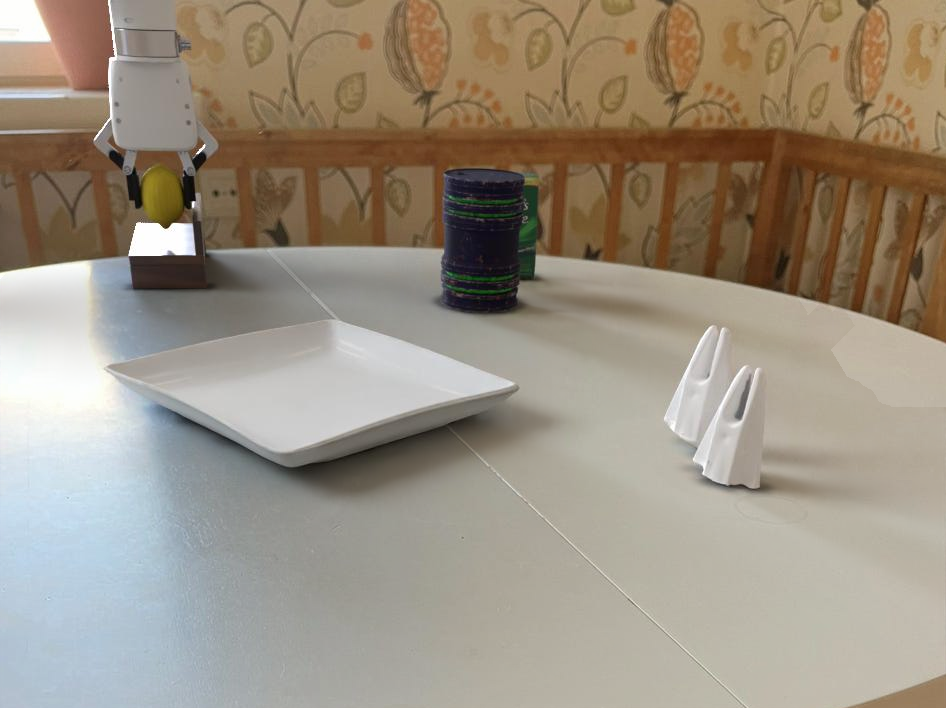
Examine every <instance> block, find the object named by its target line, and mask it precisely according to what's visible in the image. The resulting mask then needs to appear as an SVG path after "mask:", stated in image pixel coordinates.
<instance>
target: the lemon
mask: <svg viewBox="0 0 946 708" xmlns="http://www.w3.org/2000/svg"><path fill="white" fill-rule="evenodd" d="M140 199H141V204H142V207H141V208H142V209H143V212H144V213H145V215H146V217H148V219H150V220H151V221H152V222H153V223H158V224H159V225H160V226H161V227H162V228H163V229H169V228H170V226H171V225H172V224H173V223H177V222H178V221H179V220H180V219H181V218H182V216H183V214H184V212H185V209H186V208H185V200H184V190H183V182H182V180H181V179H180V177H179V176H178V174H177V173H176V172H175V171H174V170H172V169H171V168H169V167H167V166H165V165H164V164H163V163H162V162H157V163H155V165H153V166H152V167H150V168H148V169H147V170H146V171H145V172H144V173H143V175H142V177H141V180H140Z"/></svg>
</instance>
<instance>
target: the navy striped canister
mask: <svg viewBox="0 0 946 708" xmlns="http://www.w3.org/2000/svg"><path fill="white" fill-rule="evenodd" d="M523 174H524V173H520V172H517V171H511V170H506V169H497V168H485V167H484V168H483V167H480V168H479V167H465V168H463V167H462V168H453V169H448V170H446V171H444V172H443V181H444V185H443V195H442V199H441V200H442V201H441V202H442V207H443V208H442V214H441V217H442V223H443V225H444V236H443V238H444V239H443V240H444V241H443V246H444V247H443V254H442V256H441V259H440V264H441V270H440V282H441V286H440V287H441V291H442V294H441V297H440V303H441V304H442V305H443V306H445V307H447V308H449V309H451V310H454V311H455V310H456V311H460V312H466V313H473V314H474V313H476V314H477V313H478V314H494V313H503V312H509V311H512V310H514V309H515V308H516V307H518V298H517V295H518V293H519V292H518V291H519V287H518V286H519V285H520V280H521V279H520V274H519V271H520V268H521V265H520V259H519V258H518V251H519V234H520V227H521V226H522V221H523V212H522V211H523V210H524V199H523V197H524V189H523V185H524V182H525V176H524V175H523Z"/></svg>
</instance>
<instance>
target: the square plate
mask: <svg viewBox="0 0 946 708" xmlns="http://www.w3.org/2000/svg"><path fill="white" fill-rule="evenodd" d="M102 368H103V370H104V371H105V372H106V373H108V374H110V375H111V376H112V377H113V378H114V379H116V381H118V382H119V383H120V384H121V385H123V386H124V387H126V388H127V389H129V390H130V391H132V392H134V393H135V394H137V395H138V396H141V397H143V398H145V399H147V400H149V401H151V402H153V403H155V404H156V405H159V406H162V407H164V408H166V409H168V410H170V411H173V412H175V413H176V414H178V415H180V416H182V417H184V418H185V419H188V420H190V421H192V422H194V423H196V424H199V425H200V426H202V427H204V428H206V429H209V430H210V431H212V432H214V433H217V434H218V435H220V436H223V437H225V438H227V439H229V440H231V441H233V442H235V443H237V444H239V445H241V446H243V447H244V448H246V449H248V450H249V451H251V452H253V453H255V454H256V455H259V456H261V457H263V458H264V459H267V460H269V461H271V462H274V463H276V464H277V465H280V466H282V467H283V466H284V467H287V468H297V467H302V466H305V465H309V464H317V463H319V464H320V463H325V462H330V461H333V460H337V459H340V458H344V457H346V456H351V455H353V454H357V453H360V452H363V451H366V450H369V449H372V448H376V447H378V446H382V445H385V444H389V443H391V442H394V441H398V440H401V439H404V438H407V437H412V436H414V435H418V434H421V433H425V432H428V431H432V430H435V429H438V428H441V427H444V426H446V425H448V424H450V423H452V422H456V421H459V420H463V419H465V418H468V417H471V416H475V415H477V414H481V413H483V412H485V411H488V410H491V409H493V408H495V407H497V406H499V405H500V404H502V403H504V402H506V400H508V399H509V398H510V397H512V396H513V395H514V394H515V393H517V392H518V391H519V390H520V385H519V384H517V383H516V382H514V381H512V380H509V379H506V378H503V377H501V376H497V375H495V374H493V373H490V372H487V371H484V370H483V369H479V368H477V367H474V366H472V365H469V364H466V363H464V362H463V361H462V362H461V361H459V360H456V359H454V358H452V357H450V356H447V355H444V354H441V353H438V352H435V351H432V350H430V349H427V348H425V347H422V346H419V345H417V344H414V343H411V342H408V341H405V340H403V339H400V338H396V337H393V336H390V335H387V334H384V333H380V332H378V331H373V330H371V329H367V328H364V327H361V326H357V325H354V324H351V323H347V322H345V321H342V320H338V319H334V318H333V319H331V318H330V319H324V320H319V321H313V322H307V323H300V324H295V325H289V326H288V325H287V326H282V327H276V328H270V329H264V330H258V331H253V332H247V333H243V334H238V335H233V336H227V337H223V338H218V339H214V340H208V341H204V342H199V343H195V344H191V345H185V346H181V347H177V348H173V349H170V350H169V349H168V350H165V351H161V352H156V353H151V354H149V355H144V356H140V357H136V358H132V359H127V360H122V361H118V362H112V363H109V364H106V365H104V366H103V367H102Z"/></svg>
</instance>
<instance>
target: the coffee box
mask: <svg viewBox="0 0 946 708" xmlns="http://www.w3.org/2000/svg"><path fill="white" fill-rule="evenodd" d="M522 174H523V175H524V176H525V182H524V185H523V189H524V197H523V199H524V210H523V211H522V212H523V221H522V226H521V227H520V234H519V251H518V258H519V259H520V265H521V268H520V271H519V274H520V280H526V279H533V280H534V279H535V273H536V260H537V259H536V258H537V240H538V239H537V238H538V213H539V189H540V188H539V186H540V177H539V175H538V174H537V173H522Z"/></svg>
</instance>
